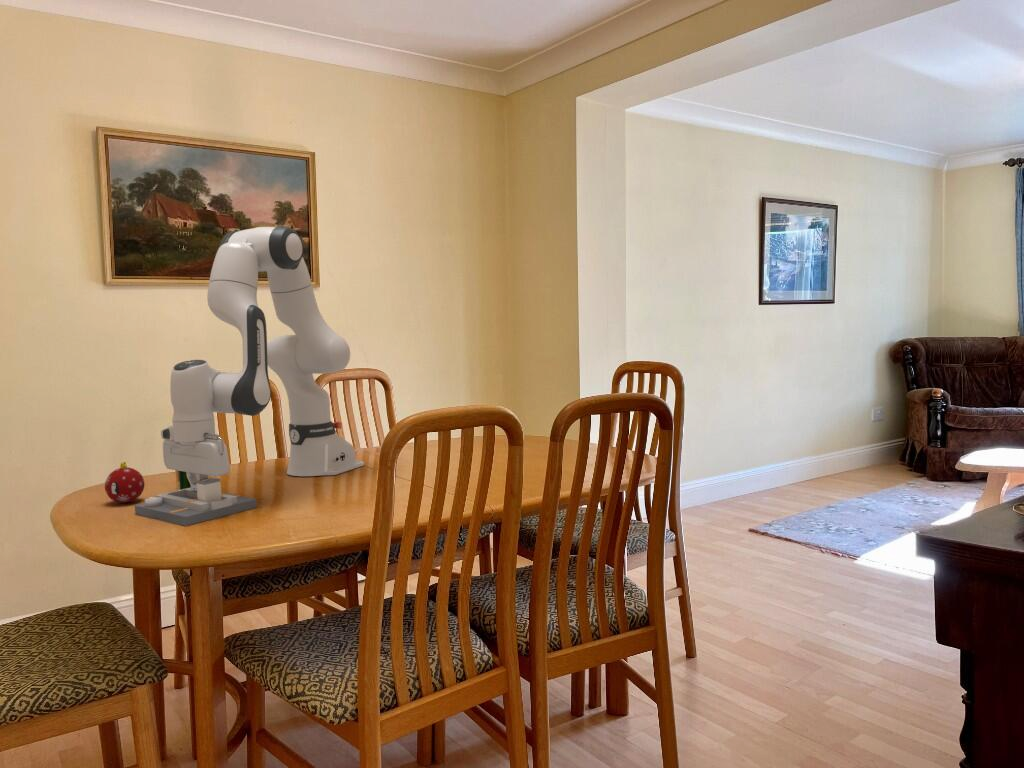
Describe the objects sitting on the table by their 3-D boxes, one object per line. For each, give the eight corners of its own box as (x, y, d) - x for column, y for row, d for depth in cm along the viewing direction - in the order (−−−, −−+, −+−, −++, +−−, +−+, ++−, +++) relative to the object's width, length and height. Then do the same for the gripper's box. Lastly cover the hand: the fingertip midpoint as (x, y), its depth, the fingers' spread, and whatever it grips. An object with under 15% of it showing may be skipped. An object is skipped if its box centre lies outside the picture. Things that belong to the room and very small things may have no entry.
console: (205, 497, 188) (204, 482, 188) (257, 507, 177) (256, 491, 177) (135, 514, 174) (134, 498, 173) (186, 526, 162) (185, 509, 162)
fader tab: (213, 501, 175) (212, 476, 174) (221, 502, 173) (220, 478, 172) (197, 505, 171) (196, 480, 171) (205, 506, 170) (204, 481, 169)
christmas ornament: (153, 498, 189) (150, 458, 188) (130, 507, 180) (127, 465, 179) (121, 498, 190) (118, 458, 189) (97, 506, 181) (94, 465, 180)
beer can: (181, 496, 190) (178, 449, 189) (177, 492, 194) (174, 446, 193) (204, 493, 193) (201, 446, 192) (199, 489, 197) (196, 443, 196)
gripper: (234, 433, 170) (238, 493, 171) (181, 427, 181) (184, 484, 183) (209, 437, 165) (213, 499, 166) (156, 430, 176) (160, 489, 177)
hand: (198, 491), depth 174 cm, fingers closed
